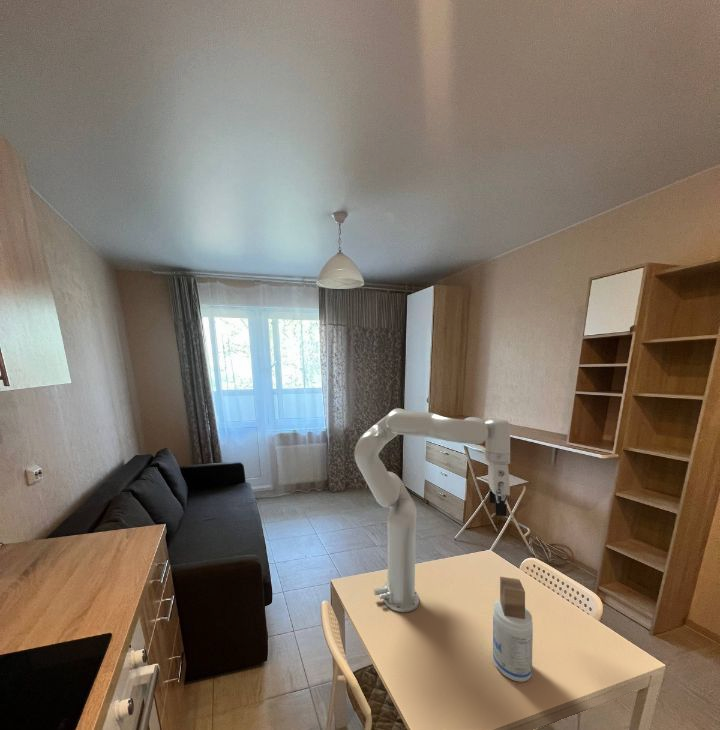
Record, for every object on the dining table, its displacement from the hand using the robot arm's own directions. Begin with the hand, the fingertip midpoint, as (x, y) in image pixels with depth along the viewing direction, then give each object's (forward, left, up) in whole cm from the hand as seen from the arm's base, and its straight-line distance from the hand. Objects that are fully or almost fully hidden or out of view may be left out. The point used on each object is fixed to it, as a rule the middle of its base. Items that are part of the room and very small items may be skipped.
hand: (497, 509), depth 101 cm
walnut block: (-8, -16, -20) cm, 27 cm away
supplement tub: (-8, -16, -35) cm, 39 cm away
